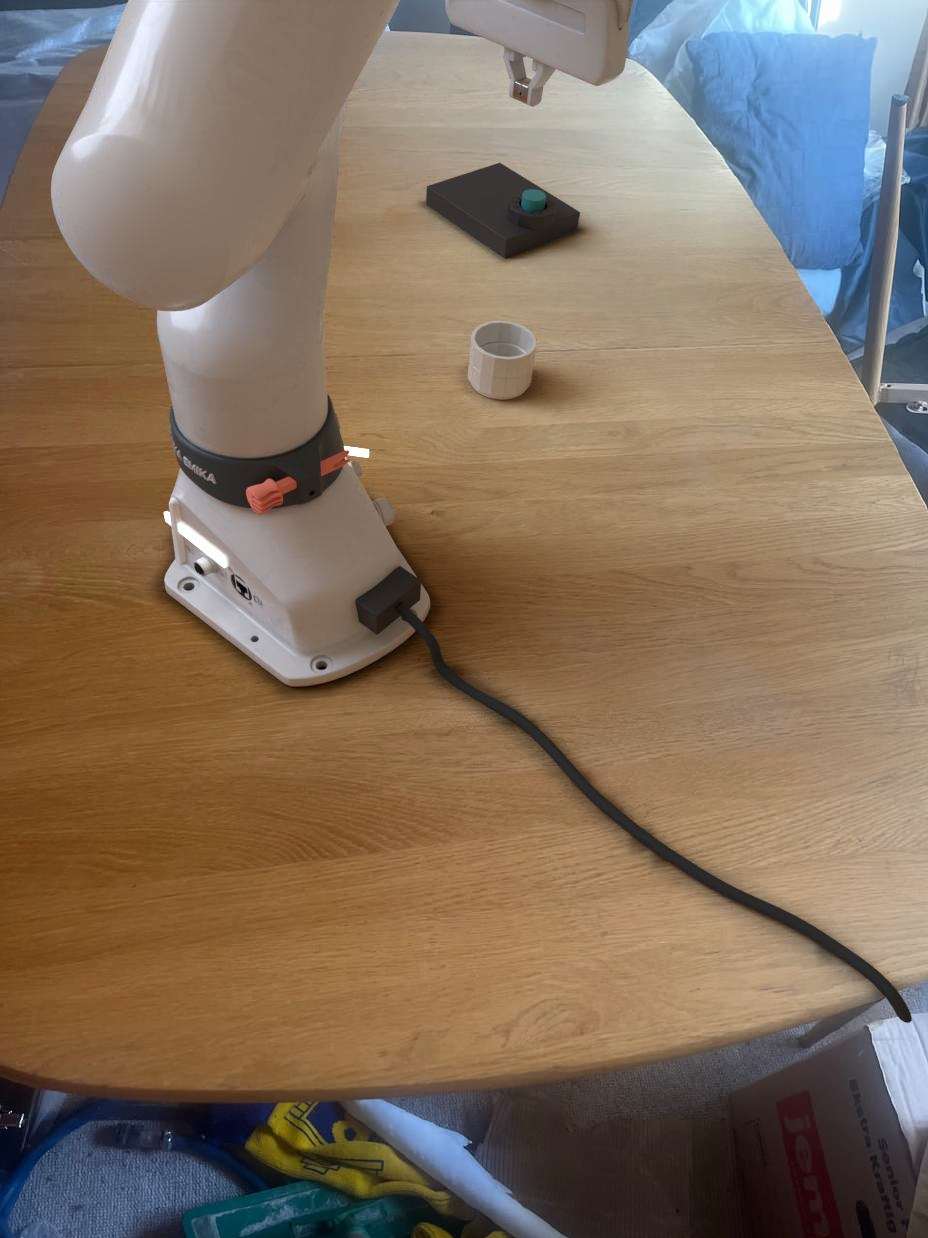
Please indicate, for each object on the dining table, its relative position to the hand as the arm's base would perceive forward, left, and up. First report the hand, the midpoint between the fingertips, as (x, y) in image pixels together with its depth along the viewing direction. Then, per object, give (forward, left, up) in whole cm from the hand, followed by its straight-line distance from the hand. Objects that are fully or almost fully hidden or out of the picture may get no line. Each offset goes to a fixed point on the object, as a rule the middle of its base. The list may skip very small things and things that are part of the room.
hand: (524, 100), depth 98 cm
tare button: (+4, -7, -15) cm, 17 cm away
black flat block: (+9, -7, -18) cm, 21 cm away
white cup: (-16, +15, -18) cm, 29 cm away
